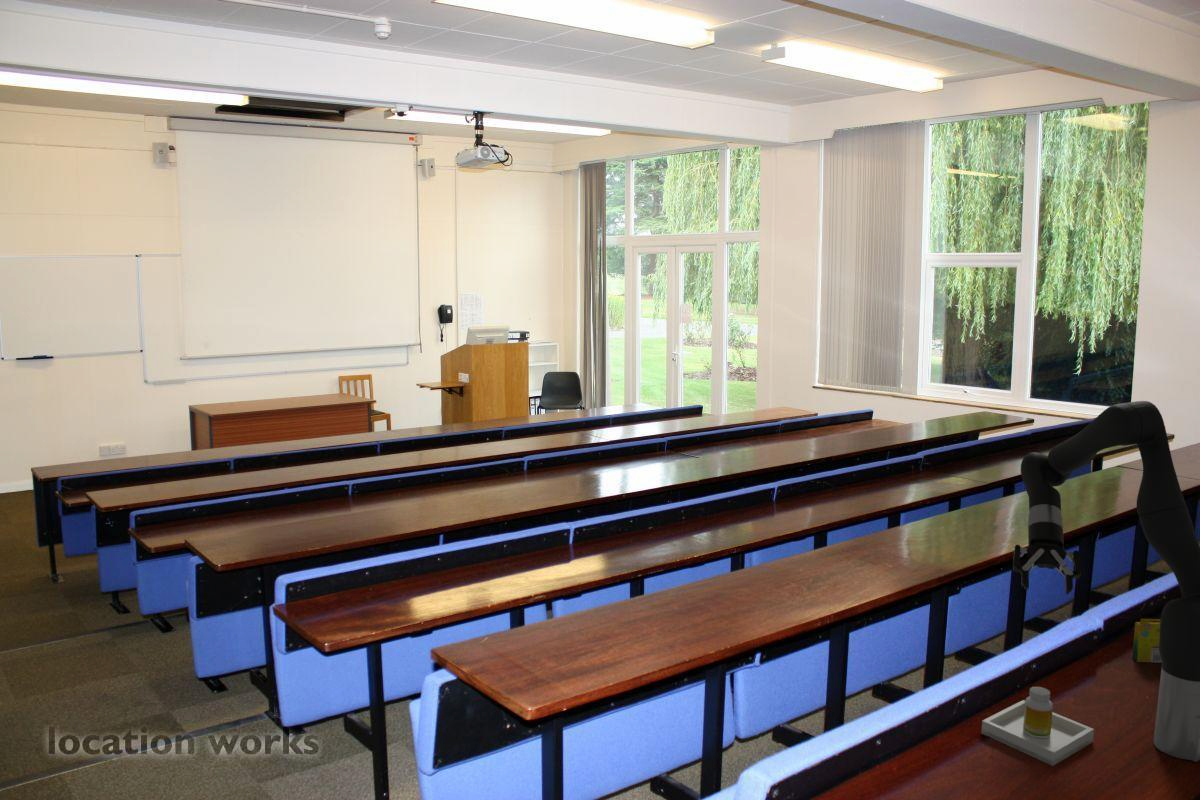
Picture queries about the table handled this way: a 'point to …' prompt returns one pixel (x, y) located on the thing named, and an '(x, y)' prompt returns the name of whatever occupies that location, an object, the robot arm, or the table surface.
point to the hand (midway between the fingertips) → (1047, 590)
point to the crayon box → (1147, 641)
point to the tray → (1049, 750)
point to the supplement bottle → (1038, 713)
